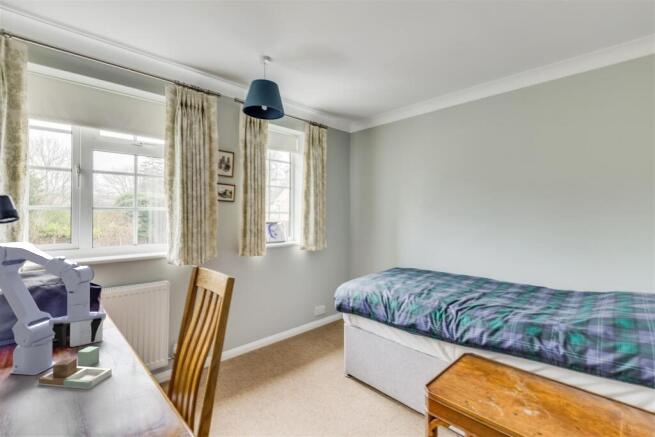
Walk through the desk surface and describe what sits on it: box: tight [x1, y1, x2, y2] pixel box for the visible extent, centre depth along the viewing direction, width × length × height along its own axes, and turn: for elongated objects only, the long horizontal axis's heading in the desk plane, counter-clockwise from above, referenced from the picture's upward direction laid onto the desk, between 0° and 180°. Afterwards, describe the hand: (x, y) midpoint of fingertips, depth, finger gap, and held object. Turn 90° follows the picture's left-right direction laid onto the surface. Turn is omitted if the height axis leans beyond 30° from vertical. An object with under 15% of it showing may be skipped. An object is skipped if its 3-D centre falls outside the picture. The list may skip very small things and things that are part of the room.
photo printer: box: [69, 311, 104, 348], centre depth 118 cm, size 10×4×12 cm, turn 129°
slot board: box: [38, 365, 113, 390], centre depth 92 cm, size 17×8×2 cm, turn 83°
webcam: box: [52, 323, 70, 349], centre depth 117 cm, size 8×8×10 cm
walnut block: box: [52, 357, 78, 378], centre depth 92 cm, size 4×4×5 cm
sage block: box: [77, 345, 100, 367], centre depth 102 cm, size 4×4×5 cm
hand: (78, 343), depth 97 cm, fingers open, 7 cm apart
